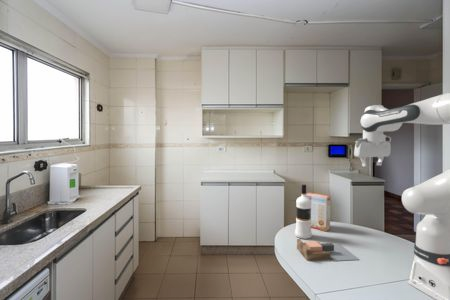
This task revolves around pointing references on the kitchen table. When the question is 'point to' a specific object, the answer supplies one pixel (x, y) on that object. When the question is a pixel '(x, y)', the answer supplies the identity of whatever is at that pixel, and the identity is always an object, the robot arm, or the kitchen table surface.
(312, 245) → the terracotta block
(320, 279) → the kitchen table surface
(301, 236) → the vodka
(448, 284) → the robot arm
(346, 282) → the kitchen table surface
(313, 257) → the brown wooden tray
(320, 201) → the cracker box
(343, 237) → the kitchen table surface
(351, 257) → the grey pad
